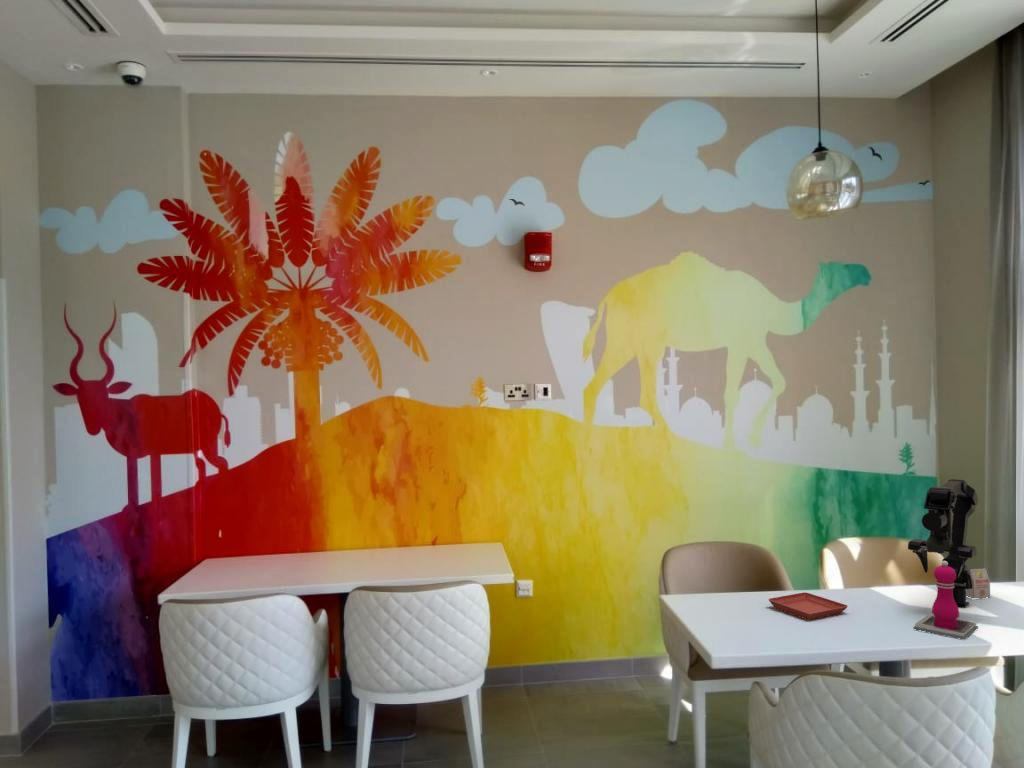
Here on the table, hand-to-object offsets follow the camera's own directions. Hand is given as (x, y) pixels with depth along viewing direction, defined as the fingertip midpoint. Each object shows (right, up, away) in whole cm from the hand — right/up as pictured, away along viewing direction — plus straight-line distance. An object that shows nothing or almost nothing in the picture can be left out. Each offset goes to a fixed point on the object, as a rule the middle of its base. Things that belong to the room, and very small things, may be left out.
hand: (941, 574), depth 251 cm
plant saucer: (-41, -14, +6) cm, 44 cm away
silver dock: (-7, -13, -14) cm, 20 cm away
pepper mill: (-7, -13, -14) cm, 20 cm away
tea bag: (+23, -13, +19) cm, 33 cm away
